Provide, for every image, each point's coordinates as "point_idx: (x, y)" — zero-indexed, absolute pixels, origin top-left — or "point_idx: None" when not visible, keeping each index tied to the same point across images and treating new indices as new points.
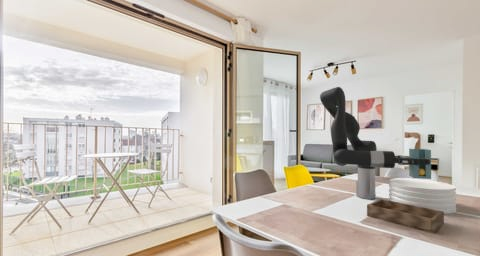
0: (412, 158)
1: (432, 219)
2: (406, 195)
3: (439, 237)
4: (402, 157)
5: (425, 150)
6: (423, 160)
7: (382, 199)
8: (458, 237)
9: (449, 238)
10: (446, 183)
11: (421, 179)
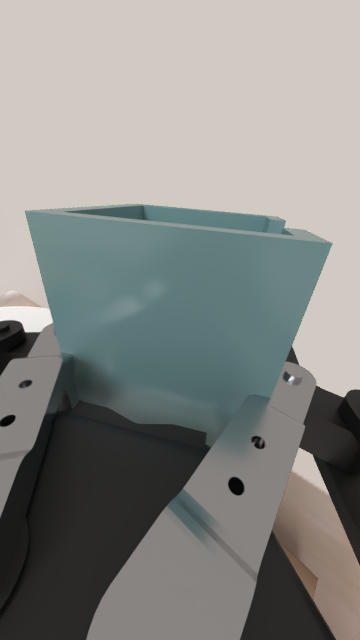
0: (295, 420)
1: (311, 580)
2: None
3: (334, 599)
4: (238, 637)
5: (277, 228)
6: (294, 353)
7: None
8: (291, 506)
9: (320, 553)
10: (20, 306)
11: None
